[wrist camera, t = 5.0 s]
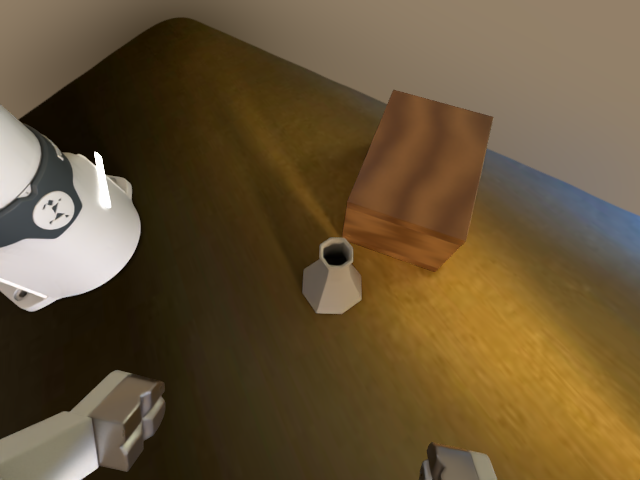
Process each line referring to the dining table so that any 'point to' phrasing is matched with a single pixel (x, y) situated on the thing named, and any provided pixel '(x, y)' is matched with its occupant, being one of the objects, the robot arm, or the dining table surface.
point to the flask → (332, 278)
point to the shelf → (418, 181)
